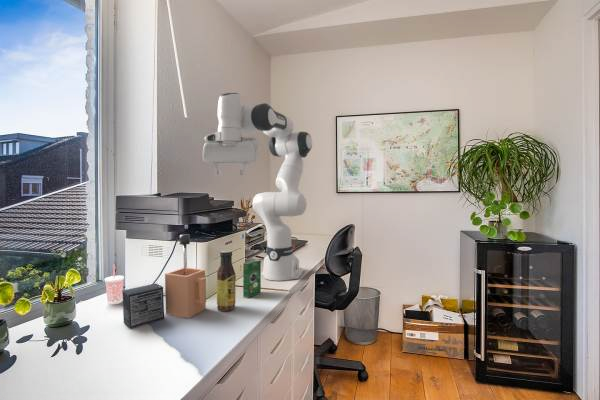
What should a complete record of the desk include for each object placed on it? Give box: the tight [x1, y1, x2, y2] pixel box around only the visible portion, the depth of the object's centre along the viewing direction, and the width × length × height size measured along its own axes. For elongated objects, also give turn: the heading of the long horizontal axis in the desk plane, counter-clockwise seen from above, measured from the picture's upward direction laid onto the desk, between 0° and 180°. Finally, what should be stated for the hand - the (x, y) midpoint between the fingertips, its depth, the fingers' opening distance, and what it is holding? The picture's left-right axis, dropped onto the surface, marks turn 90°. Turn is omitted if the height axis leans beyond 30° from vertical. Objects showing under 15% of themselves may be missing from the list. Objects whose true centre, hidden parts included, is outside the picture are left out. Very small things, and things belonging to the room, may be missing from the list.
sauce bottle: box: [216, 250, 236, 312], centre depth 114 cm, size 7×6×20 cm
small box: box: [122, 282, 165, 329], centre depth 104 cm, size 11×6×10 cm, turn 134°
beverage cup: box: [104, 263, 125, 305], centre depth 120 cm, size 6×6×14 cm
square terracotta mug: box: [164, 267, 207, 319], centre depth 111 cm, size 9×12×14 cm
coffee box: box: [242, 259, 262, 299], centre depth 128 cm, size 8×3×13 cm, turn 151°
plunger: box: [179, 233, 191, 276], centre depth 111 cm, size 7×7×17 cm
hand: (230, 175), depth 122 cm, fingers open, 8 cm apart
